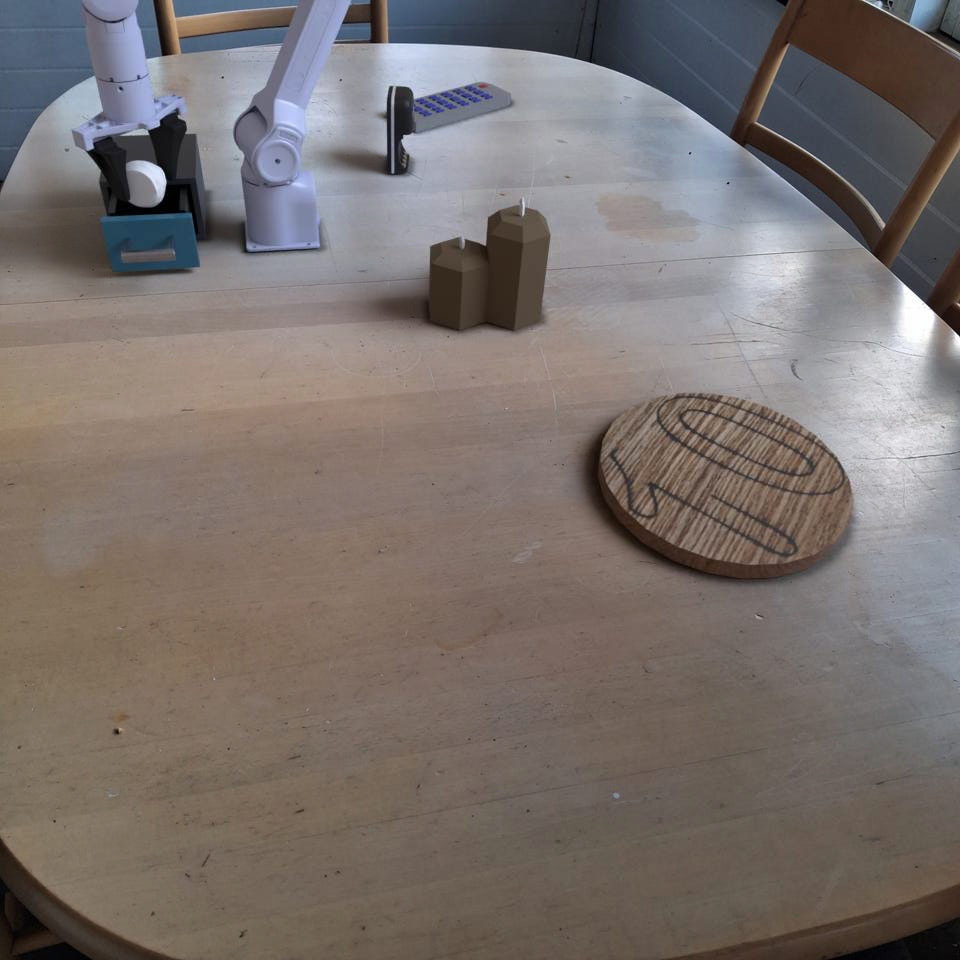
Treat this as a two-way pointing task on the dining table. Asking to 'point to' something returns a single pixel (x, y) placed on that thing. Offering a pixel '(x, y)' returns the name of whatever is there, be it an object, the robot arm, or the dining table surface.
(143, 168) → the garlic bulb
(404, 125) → the battery charger
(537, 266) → the candle
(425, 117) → the remote control
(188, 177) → the cabinet
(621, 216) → the dining table surface
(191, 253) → the drawer
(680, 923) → the dining table surface
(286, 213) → the robot arm
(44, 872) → the dining table surface
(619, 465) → the trivet
